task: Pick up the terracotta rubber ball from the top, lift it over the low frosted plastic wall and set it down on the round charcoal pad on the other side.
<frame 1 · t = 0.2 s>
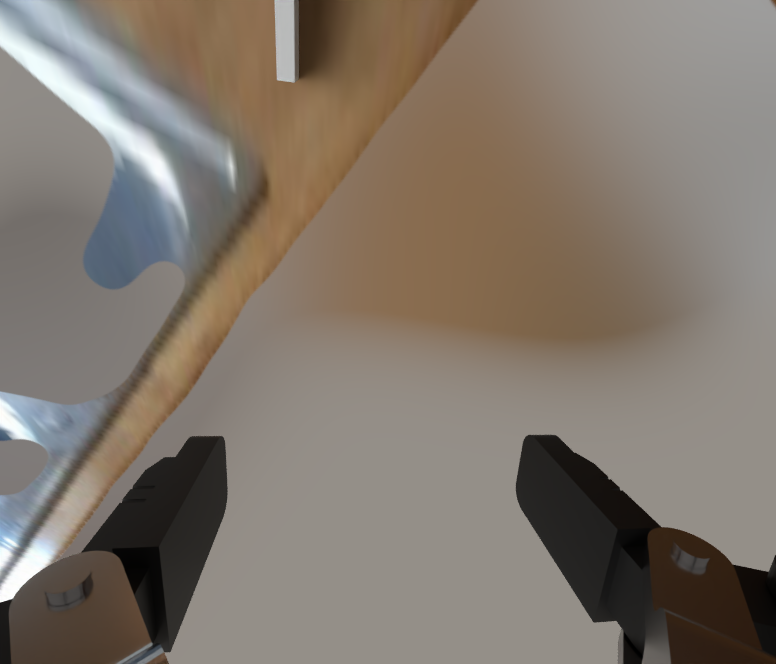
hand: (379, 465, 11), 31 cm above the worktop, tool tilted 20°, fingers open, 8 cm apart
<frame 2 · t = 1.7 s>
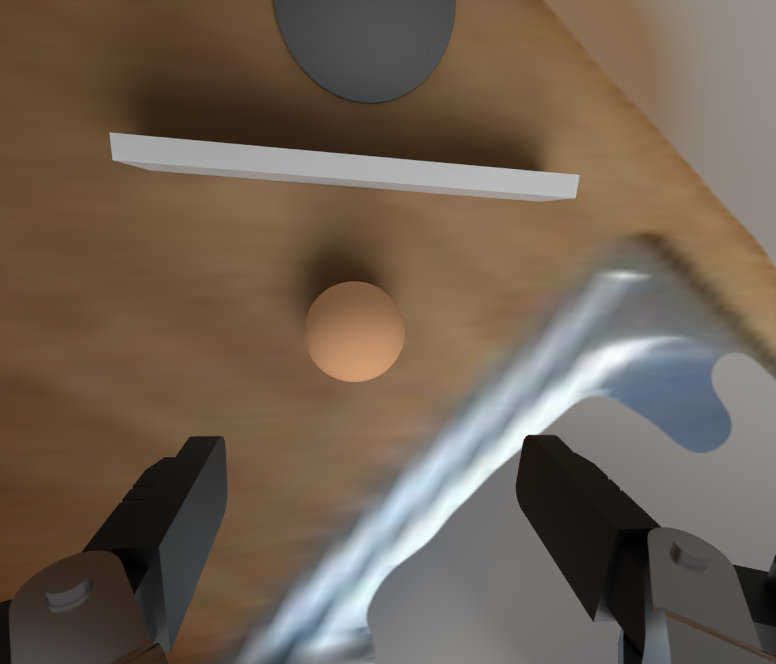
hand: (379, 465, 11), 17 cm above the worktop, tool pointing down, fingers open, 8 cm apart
pad: (366, 2, 22), on the worktop
ball: (354, 331, 24), point 3 cm above the worktop
low wall: (358, 176, 24), on the worktop
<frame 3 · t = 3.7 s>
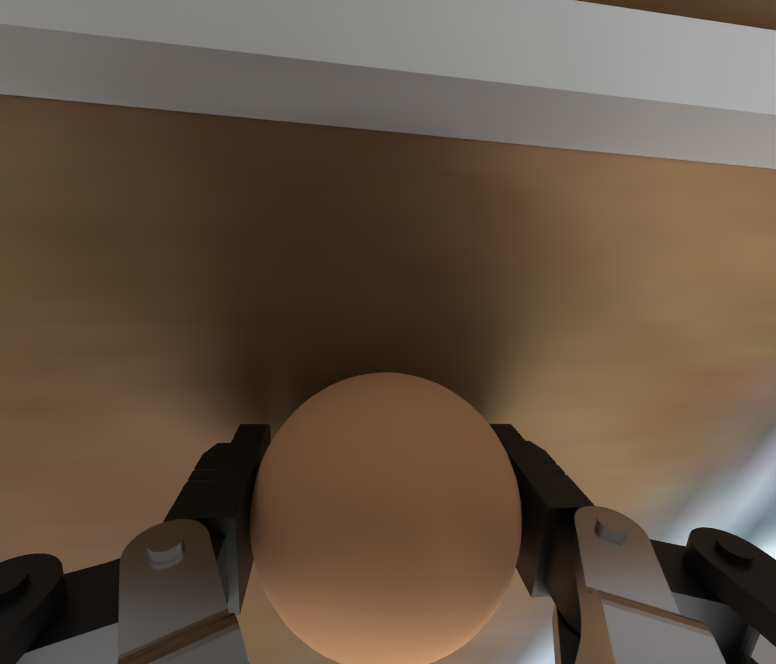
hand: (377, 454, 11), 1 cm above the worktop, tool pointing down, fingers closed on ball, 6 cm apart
ball: (385, 501, 9), point 3 cm above the worktop, touching gripper
low wall: (394, 105, 10), on the worktop
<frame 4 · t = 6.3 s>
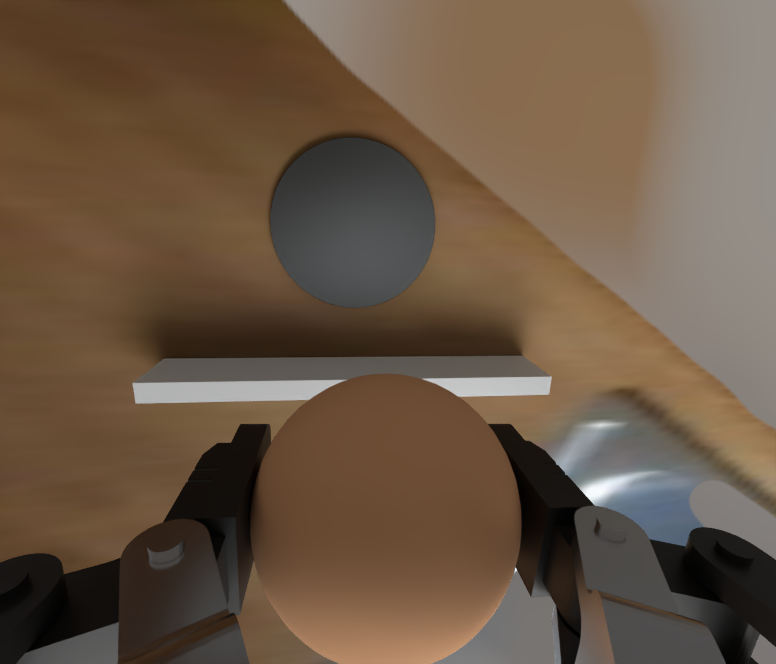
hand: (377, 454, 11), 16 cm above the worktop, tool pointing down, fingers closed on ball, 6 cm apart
pad: (354, 227, 24), on the worktop
ball: (385, 502, 9), point 17 cm above the worktop, touching gripper
low wall: (353, 365, 27), on the worktop
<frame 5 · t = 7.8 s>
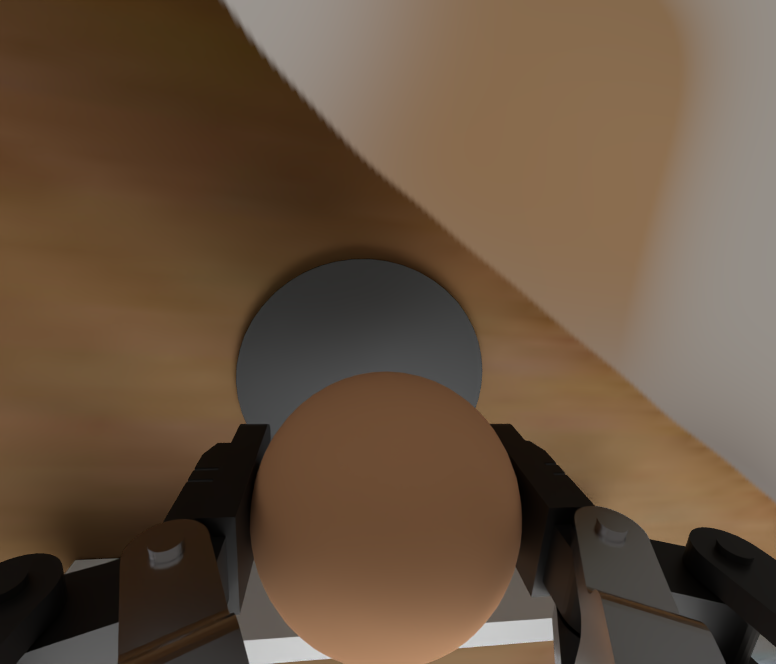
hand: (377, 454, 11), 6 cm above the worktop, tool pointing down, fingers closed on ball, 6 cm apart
pad: (363, 380, 16), on the worktop
ball: (386, 500, 9), point 8 cm above the worktop, touching gripper
low wall: (354, 558, 19), on the worktop
when the fingers open (2 cm above the worktop, at t = 9.0 s): ball stays where it is, resting on pad.
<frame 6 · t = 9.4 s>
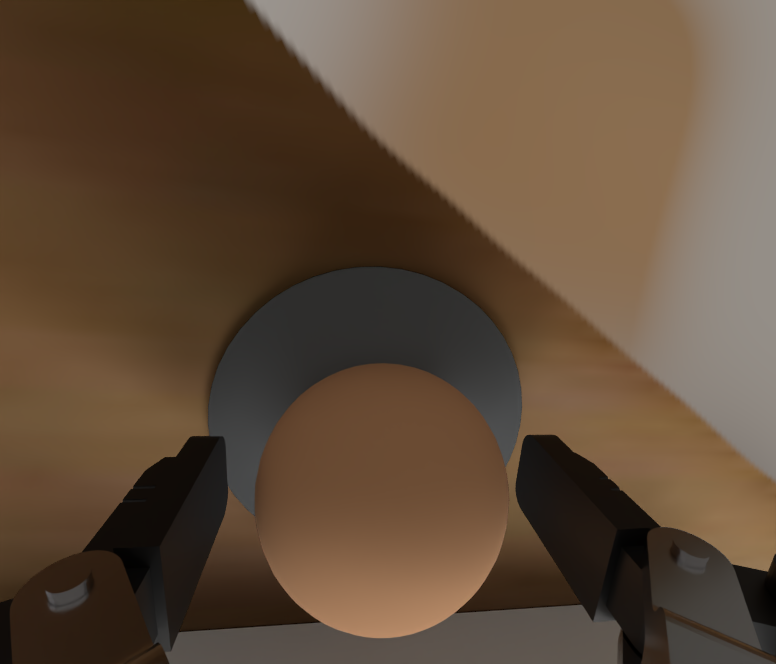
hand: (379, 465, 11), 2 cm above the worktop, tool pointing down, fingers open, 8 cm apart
pad: (371, 420, 13), on the worktop
ball: (382, 484, 10), point 3 cm above the worktop, touching pad
low wall: (359, 631, 15), on the worktop
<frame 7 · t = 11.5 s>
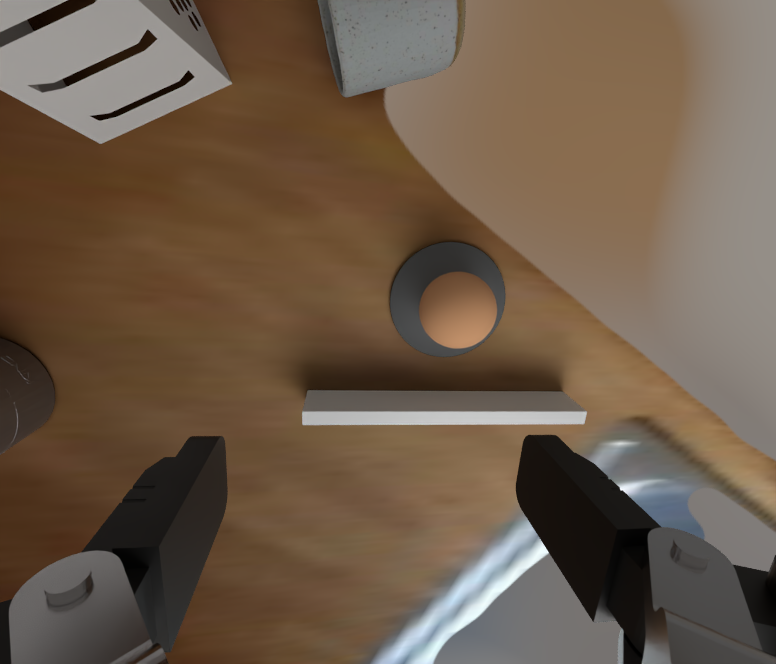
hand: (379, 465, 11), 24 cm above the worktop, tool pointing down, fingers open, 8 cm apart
grater: (124, 34, 27), on the worktop
ceramic mug: (374, 21, 28), on the worktop
pad: (447, 301, 34), on the worktop
ball: (457, 310, 31), point 3 cm above the worktop, touching pad
low wall: (438, 396, 37), on the worktop
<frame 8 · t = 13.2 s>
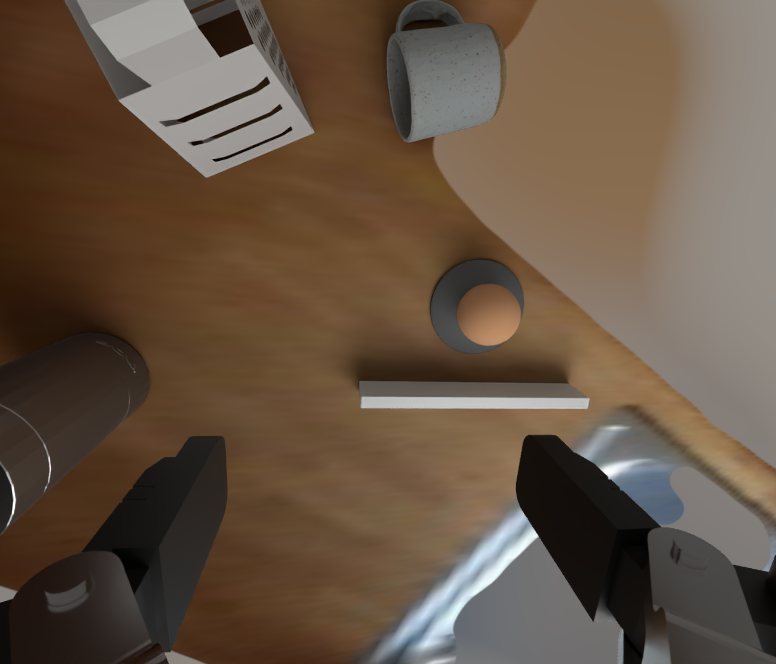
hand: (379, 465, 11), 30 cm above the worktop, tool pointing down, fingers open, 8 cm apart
grater: (232, 93, 34), on the worktop
ceramic mug: (427, 81, 36), on the worktop
pad: (477, 307, 41), on the worktop
ball: (488, 314, 38), point 3 cm above the worktop, touching pad
low wall: (467, 387, 44), on the worktop
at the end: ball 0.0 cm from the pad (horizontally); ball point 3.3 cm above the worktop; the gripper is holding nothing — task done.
